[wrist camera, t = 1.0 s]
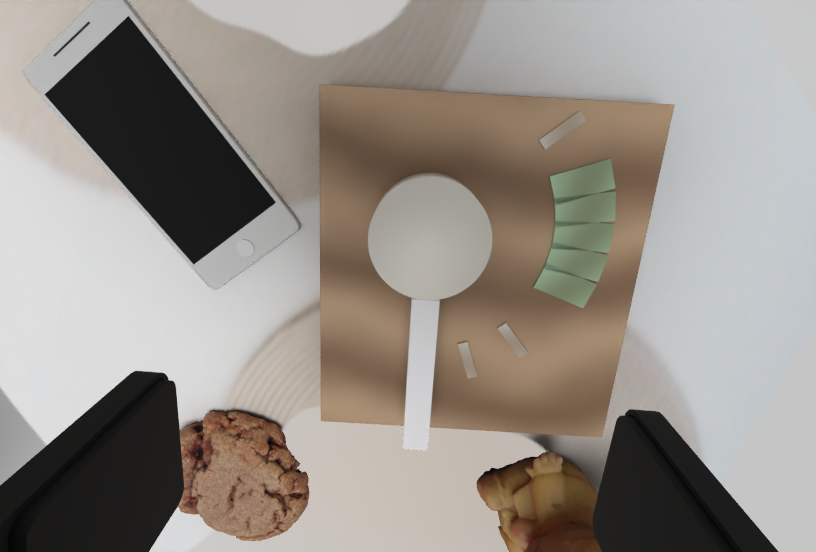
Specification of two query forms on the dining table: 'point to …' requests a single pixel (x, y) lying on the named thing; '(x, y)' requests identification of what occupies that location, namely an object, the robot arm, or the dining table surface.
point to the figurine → (542, 505)
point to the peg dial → (427, 270)
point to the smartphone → (160, 141)
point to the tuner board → (509, 260)
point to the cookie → (241, 476)
